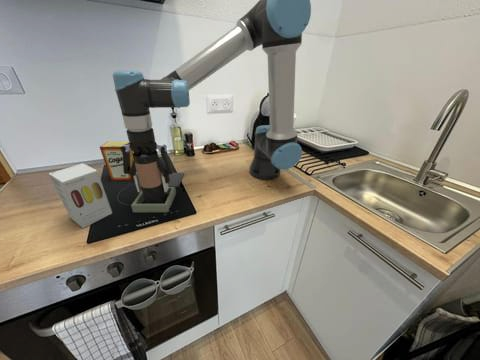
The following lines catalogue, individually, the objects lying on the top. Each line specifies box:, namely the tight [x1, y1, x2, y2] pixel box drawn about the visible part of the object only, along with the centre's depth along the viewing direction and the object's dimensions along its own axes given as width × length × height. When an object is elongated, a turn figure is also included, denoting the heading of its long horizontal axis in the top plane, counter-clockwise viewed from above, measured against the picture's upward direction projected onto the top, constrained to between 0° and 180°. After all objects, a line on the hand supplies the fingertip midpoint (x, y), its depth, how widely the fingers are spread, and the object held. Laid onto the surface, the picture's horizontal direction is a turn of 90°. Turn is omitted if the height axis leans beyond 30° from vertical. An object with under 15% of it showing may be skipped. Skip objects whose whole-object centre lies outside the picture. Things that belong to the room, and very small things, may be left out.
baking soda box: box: [99, 140, 137, 181], centre depth 86 cm, size 10×6×16 cm
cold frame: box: [131, 187, 177, 213], centre depth 74 cm, size 12×12×3 cm
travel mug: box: [133, 149, 167, 204], centre depth 69 cm, size 8×8×20 cm
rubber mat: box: [162, 172, 185, 188], centre depth 89 cm, size 12×12×1 cm
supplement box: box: [48, 163, 113, 229], centre depth 63 cm, size 10×9×17 cm
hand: (153, 190), depth 72 cm, fingers open, 9 cm apart
